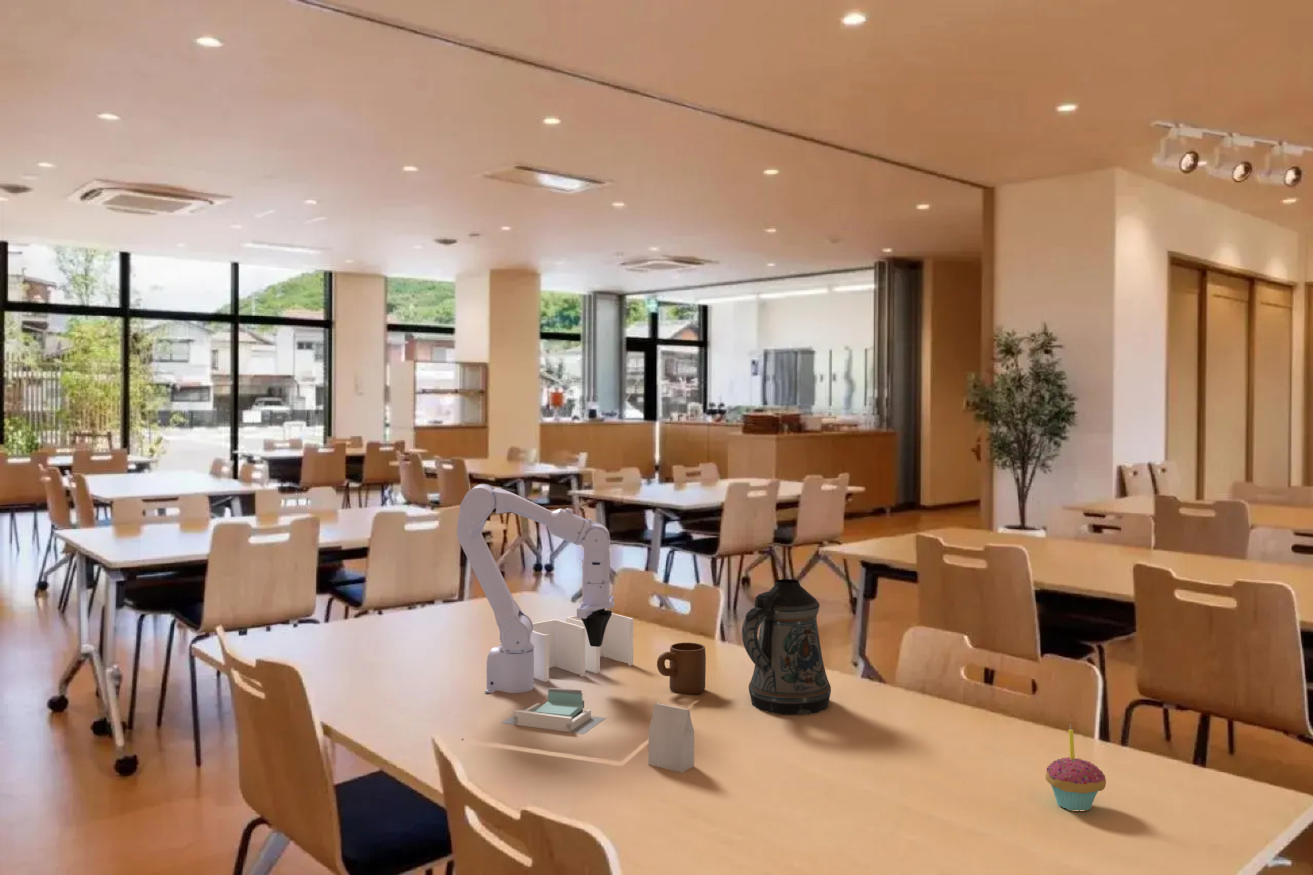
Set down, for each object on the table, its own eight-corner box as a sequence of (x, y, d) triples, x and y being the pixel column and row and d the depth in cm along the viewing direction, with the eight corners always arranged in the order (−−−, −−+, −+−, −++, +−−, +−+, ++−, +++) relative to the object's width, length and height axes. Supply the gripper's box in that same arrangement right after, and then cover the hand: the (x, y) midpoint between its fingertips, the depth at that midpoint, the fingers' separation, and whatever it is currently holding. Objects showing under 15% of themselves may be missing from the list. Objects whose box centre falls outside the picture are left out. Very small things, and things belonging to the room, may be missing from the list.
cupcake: (1035, 795, 159) (1036, 720, 159) (1087, 794, 160) (1089, 718, 160) (1061, 818, 151) (1063, 738, 150) (1116, 817, 152) (1118, 737, 151)
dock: (501, 726, 191) (501, 709, 191) (526, 711, 201) (526, 695, 200) (583, 737, 185) (583, 720, 185) (605, 721, 194) (606, 704, 194)
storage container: (603, 656, 244) (603, 610, 243) (633, 665, 236) (633, 618, 235) (515, 675, 227) (515, 626, 227) (544, 685, 219) (544, 635, 218)
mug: (669, 702, 207) (670, 656, 207) (645, 693, 213) (646, 649, 212) (712, 691, 215) (713, 647, 214) (688, 683, 220) (689, 640, 220)
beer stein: (839, 697, 211) (841, 577, 210) (813, 725, 193) (814, 593, 192) (763, 687, 218) (764, 571, 217) (731, 713, 200) (732, 586, 199)
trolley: (534, 723, 191) (534, 697, 191) (550, 710, 199) (550, 686, 199) (569, 726, 189) (569, 701, 189) (584, 713, 197) (584, 689, 197)
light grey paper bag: (682, 773, 168) (682, 713, 168) (648, 764, 172) (648, 706, 172) (694, 766, 171) (694, 707, 171) (660, 758, 175) (660, 700, 175)
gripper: (599, 589, 206) (598, 655, 207) (627, 577, 220) (626, 639, 220) (567, 586, 209) (567, 652, 209) (597, 574, 222) (596, 636, 223)
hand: (595, 645), depth 215 cm, fingers closed
